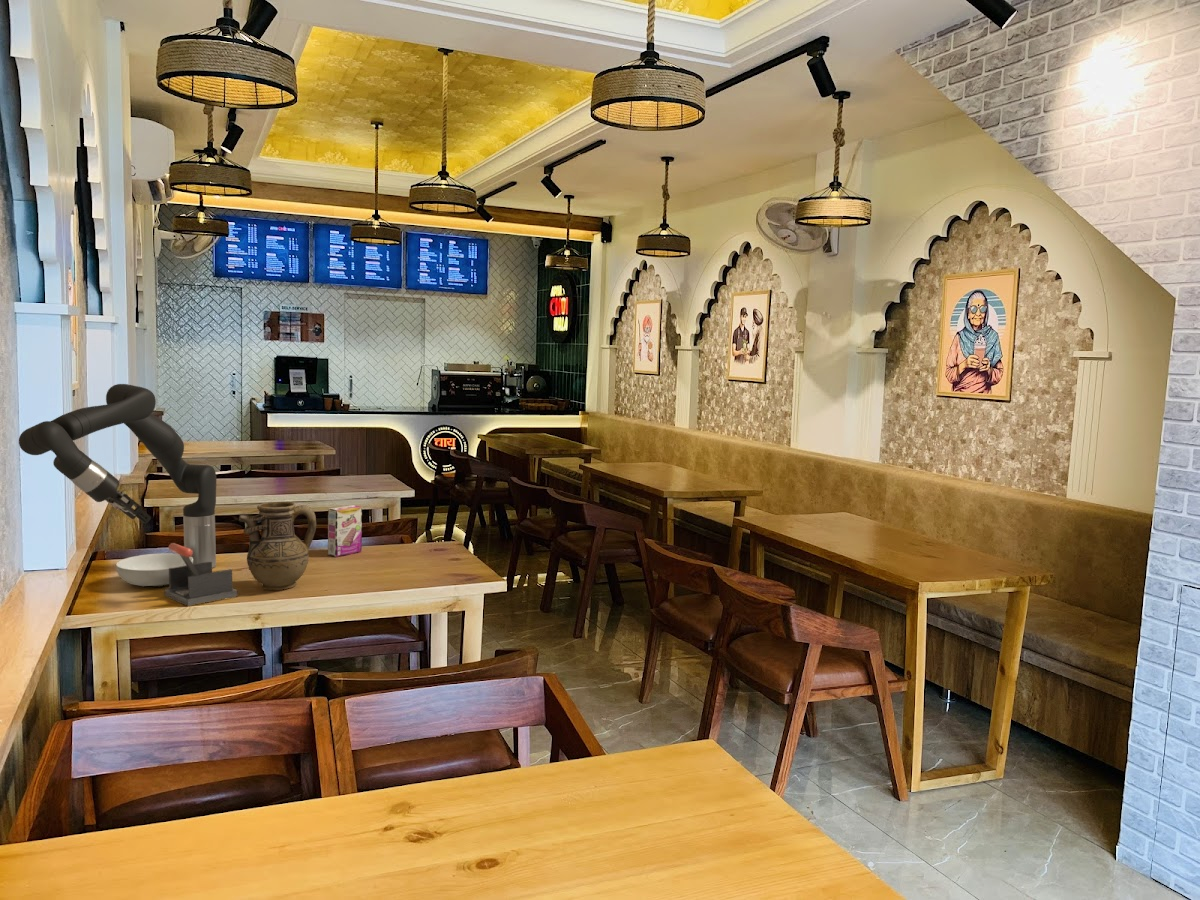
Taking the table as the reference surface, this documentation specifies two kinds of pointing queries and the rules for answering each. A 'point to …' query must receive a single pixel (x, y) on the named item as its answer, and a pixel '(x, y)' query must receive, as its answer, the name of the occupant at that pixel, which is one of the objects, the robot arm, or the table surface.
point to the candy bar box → (344, 530)
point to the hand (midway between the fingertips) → (142, 518)
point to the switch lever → (184, 556)
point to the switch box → (199, 584)
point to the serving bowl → (149, 568)
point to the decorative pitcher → (278, 544)
